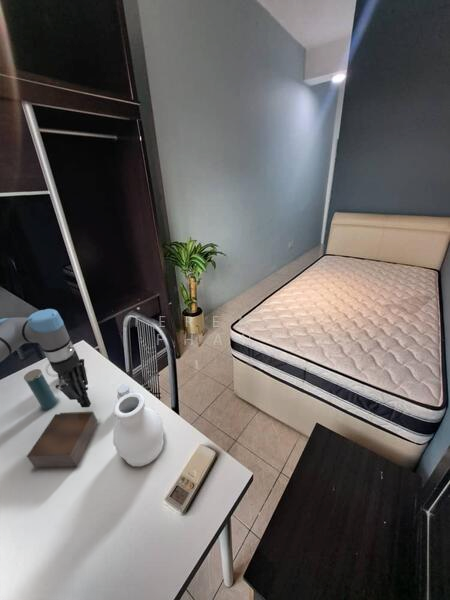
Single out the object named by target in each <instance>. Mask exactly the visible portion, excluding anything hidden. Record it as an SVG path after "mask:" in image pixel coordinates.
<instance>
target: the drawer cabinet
mask: <svg viewBox="0 0 450 600" xmlns="http://www.w3.org/2000/svg"><path fill="white" fill-rule="evenodd" d="M98 425H99V423H98V420H97V421H96V419H95V417H94V415H93V413H77V414H60V413H56V414H54V416H53V417H52V418H51V420H50V421H49V423H48V424H47V426H46V427H45V429H44V430H43V432H42V433H41V435H40V436H39V438H38V439H37V441H36V442H35V444H34V445H33V447H32V448H31V449H30V451H29V452H28V454H27V455H26V458H27V459H28V460H29V461H30V463H31V464H32V465H33V467H34V468H35V469H53V468H54V469H55V468H78V466H79V464H80V463H81V460H82V458H83V456H84V454H85V452H86V451H87V448H88V446H89V445H90V443H91V440H92V438H93V436H94V434H95V432H96V429H97V427H98Z"/></svg>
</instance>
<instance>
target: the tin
mask: <svg viewBox="0 0 450 600" xmlns="http://www.w3.org/2000/svg"><path fill="white" fill-rule="evenodd" d="M23 380H24V381H25V382H26V384H27V385H28V387H29V389H30V390H31V392H32V394H33V395H34V397H35V399H36V400H37V402H38V403H39V405H40V407H41V408H42V410H44V411H48V410H51V409H53V408H54V407H55V406H56V405H57V403H58V399H57V398H56V396H55V395H54V392H53V390H52V388H51V387H50V385H49V384H48V382H47V380H46V378H45V377H44V374H43V371H42V370H41V369H39V368H36V369H32V370H30V371H28V372H26V374H24V376H23Z"/></svg>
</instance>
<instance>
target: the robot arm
mask: <svg viewBox="0 0 450 600" xmlns="http://www.w3.org/2000/svg"><path fill="white" fill-rule="evenodd" d="M25 344H39V345H40V347H41V350H42V351H43V353H44V355H45V357H46V360H47V361H48V364H49V363H50V366H51V368H52V371H54V372H55V373H56V374H58V377H57V378H58V380H59V382H58V384H56V385H55V386H54V388H55V389H56V390H60V392H61V393H63V394H64V396H66V397H67V398H68V400H70V401H74V400H75V401H77V404H79V405H80V407H81V408H90V407H91V405H92V403H91V400H90V398H89V396H88V390H89V387H88V384H89V381H88V377H87V373H86V368H85V367H86V366H85V359H84V358H80V357H79V355H78V353H77V350H76V349H75V347H74V344H73V342H72V339H71V337H70V335H69V332H68V330H67V328H66V325H65V322H64V320H63V319H62V317H61V315H60V313H59V312H58V310H56V309H55V308H54V309H53V308H46V309H45V308H44V309H40V310H38V311H35V312H33V313H32V314H30V315H29V316H28V317H14V316H13V317H5V318H1V319H0V363H1V362H3V361H4V360H5V359H6V358H7V357H9V356H10V355H12V354H13V353H14V352H16V351H17V350H18V349H19V348H20V347H22V346H23V345H25Z"/></svg>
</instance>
